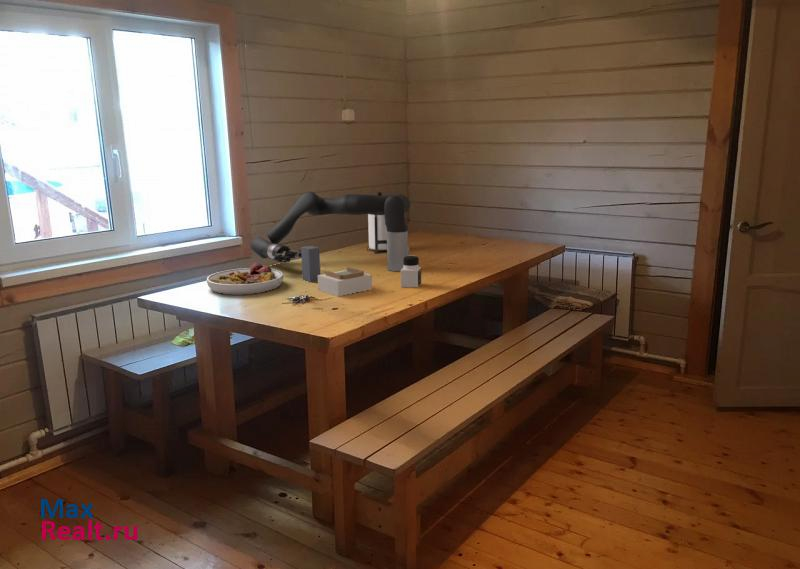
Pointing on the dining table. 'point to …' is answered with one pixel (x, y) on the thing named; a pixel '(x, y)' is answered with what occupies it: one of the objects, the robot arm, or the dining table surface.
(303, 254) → the grey tall block
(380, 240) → the coffee press
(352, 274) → the stand
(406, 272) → the medicine bottle
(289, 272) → the dining table surface
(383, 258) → the dining table surface
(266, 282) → the bowl
